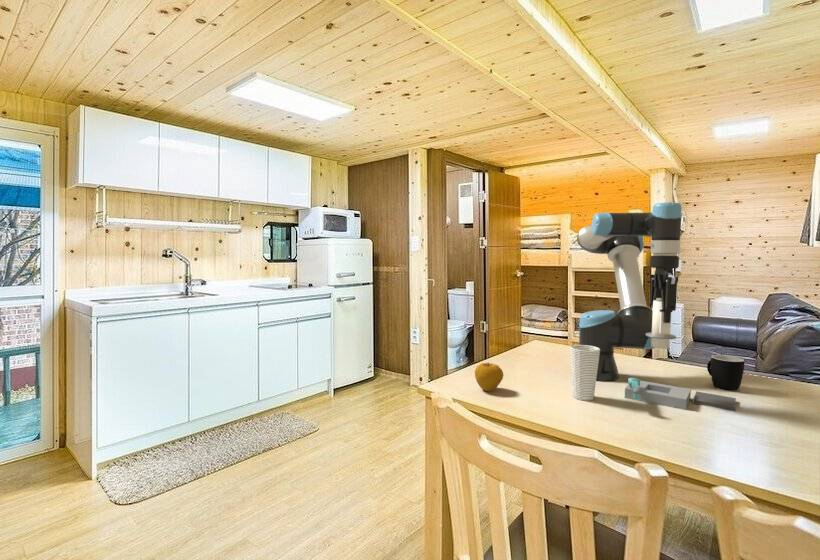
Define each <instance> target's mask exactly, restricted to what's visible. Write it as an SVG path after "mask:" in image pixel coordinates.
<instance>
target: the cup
mask: <svg viewBox="0 0 820 560" xmlns="http://www.w3.org/2000/svg"><path fill="white" fill-rule="evenodd" d="M569 349H570V350H569V351H570V368H571V369H570V370H571V372H570V373H571V387H572V397H573V398H574V399H576V400H580V401H587V402H588V401H592V400H594V399H595V392H596V384H597V380H596V377H597V370H598V362H599V355H600V349H599V348H598V347H595V346H590V345H579V344H574V345H570V347H569Z"/></svg>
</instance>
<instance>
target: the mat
mask: <svg viewBox="0 0 820 560" xmlns="http://www.w3.org/2000/svg"><path fill="white" fill-rule="evenodd" d="M736 400H737V398H736V397H733V396H732V397H731V396H725V395H720V394H715V393H714V394H713V393H709V392H708V393H707V392H704V391H703V392H702V391H695V395H694V396H693V398H692V404H696V405H702V406H706V407H707V406H708V407H713V408H718V409H723V410H729V411H734V412H735V411H736V410H735V409H736Z"/></svg>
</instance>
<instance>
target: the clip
mask: <svg viewBox="0 0 820 560" xmlns="http://www.w3.org/2000/svg"><path fill="white" fill-rule="evenodd" d="M640 380H641V379H639V378H637V377H629V378H628V379H627V381H628V382H627V385H628V384H629V385H632V390H633V395H634V399H638V400H637V401H639V400H640V394H641V390H642V389H640V388H639V387H638V386H640ZM634 399H633V400H634Z"/></svg>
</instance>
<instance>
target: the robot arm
mask: <svg viewBox="0 0 820 560" xmlns="http://www.w3.org/2000/svg"><path fill="white" fill-rule="evenodd" d="M682 209H683V208H682V204H681V202H680V203H679V202H676V201H675V202H671V201H670V202H669V201H667V202H658V203H654V204H653V207H652V211H651V212H607V211H606V212H605V211H604V212H599V213H595V214H594V215H593V216H592V217H593V218H592V221H591V224H590V225H585V226H583V227H582V228H581V229H580V230H579V232H578V234H577V237H576V241H577V243H578V246H579V247H580V248H581V249H583V250H585V251H586V252H588V253H591V254H597V255H598V254H599V255H600V254H601V255H607V257H608V260H609V261H610V262H612V264H613V270H614V277H615V283H616V289H617V295H618V300H619V301H618V302H619V306H620V309H619V310H618V312H617V313H616V311H614V310H610V309H609V310H608V309H607V310H604V309H599V310H590V311H586V312H583V313H582V314H581V315H580V316H579V317H580V318H579V325H578V328H579V331H578V332H579V334H578V335H579V338H578V339H579V340H578V345H590V346H595V347H598V348H599V349H600V355H599V362H598V370H597V377H596V381H601V382H602V381H603V382H604V381H605V382H608V381H615V380H617V379H619V370H618V367H617V362H616V360H615V355H614V354H615V353H614V351H615V348H618V349H620V348H621V349H636V350H655V348H654V347H651V337H648V336H646V333H651V332H652V316H653V301H654V300H656V298H662V310H660V331H659V333H660V334H671V327H672V326H671V325H672V312H673V311H677V310H676V309H677V305H676V304H677V294H678V293H677V292H678V291H677V289H678V282H679V277H678V276H675V275H674V269H678V268H679V267H680V256H679V254H680V253H681V252H680V251H681V229H682V217H683V213H682V211H683V210H682ZM644 237H650V241H651V242H650V243H649V247H650V254H652V255H650V257H649V267H650V268H652V269H655V271H654V274H650V276H649V277H650V279H649V280H650V295H649V306H651V307H649V306H648V305H647V301H646V295H645V291H644V288H643V281H642V278H641V272H640V266H639V261H638V258H639V256H640V254H641V253H642V252H643V249H644V246H645V244H644Z"/></svg>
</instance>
